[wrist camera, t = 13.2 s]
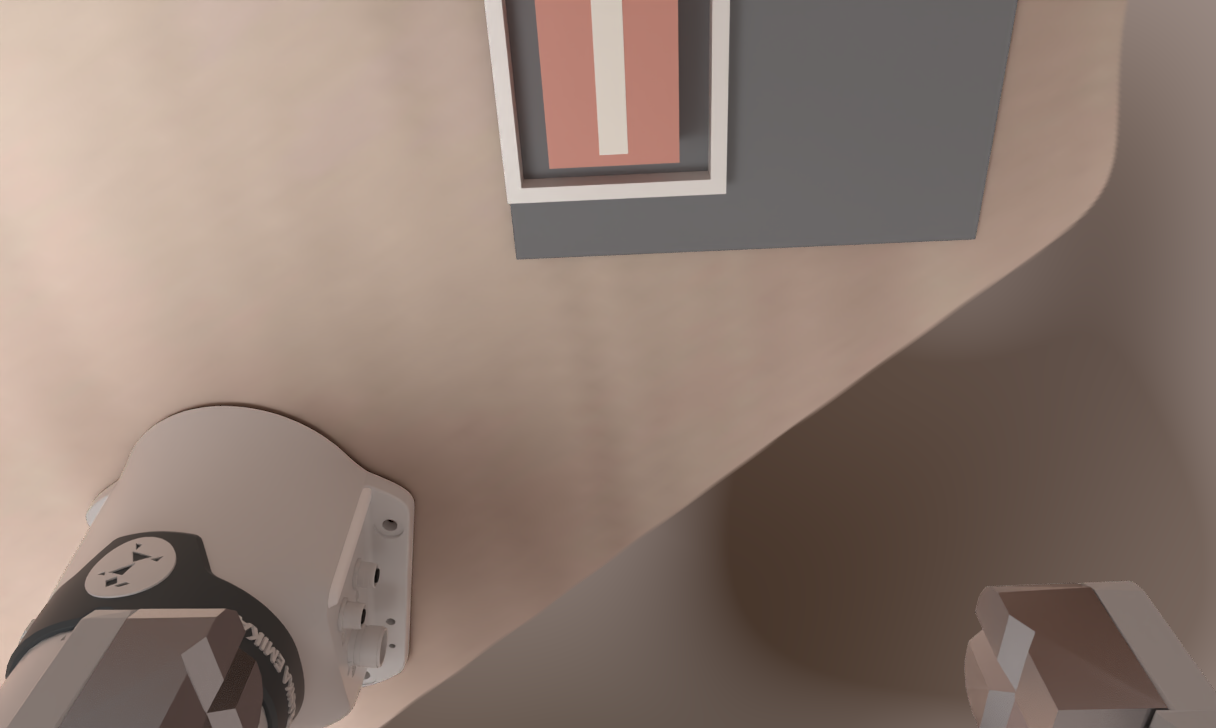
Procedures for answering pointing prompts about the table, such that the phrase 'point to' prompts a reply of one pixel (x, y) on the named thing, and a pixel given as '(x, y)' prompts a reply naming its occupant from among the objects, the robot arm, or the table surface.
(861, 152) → the desk mat
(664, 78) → the card deck
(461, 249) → the table surface
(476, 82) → the table surface
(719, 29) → the frame
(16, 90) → the table surface
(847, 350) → the table surface
